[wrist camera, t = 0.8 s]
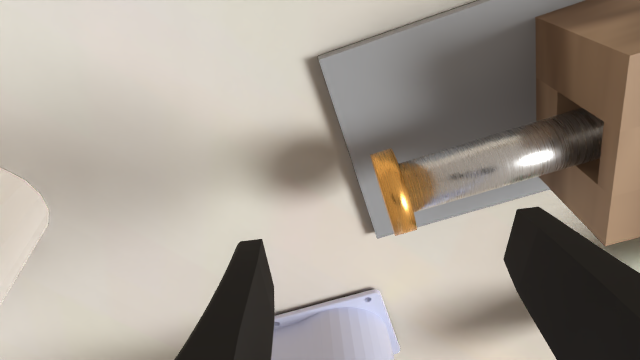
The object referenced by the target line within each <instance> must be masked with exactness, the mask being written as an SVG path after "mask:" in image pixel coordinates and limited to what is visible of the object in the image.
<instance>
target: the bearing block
mask: <svg viewBox="0 0 640 360" xmlns="http://www.w3.org/2000/svg"><path fill="white" fill-rule="evenodd" d="M535 28H536V121H539V120H543V119H546V118H549V117H552V116H556V115H559V114H562V113H565V112H569V111H572V110H575V109H579V108H584V109H585V110H587V111H588V112H590V113H591V114H593V115H594V116H596V117H597V118H599V119H600V120H602V121H603V122H604V126H603V136H602V146H601V156H600V159H596V160H593V161H590V162H586V163H583V164H579V165H576V166H572V167H569V168H565V169H562V170H558V171H555V172H552V173H548V174H545V175H541V176H538V177H539V178H540V179H541V180H542V181H543V182H544V183H545V184H546V185H547V186H548V187H549V188H550V189H551V190H552V191H553V192H554V193H555V194H556V195H557V197H558V198H559V199H560V200H561V201H562V202H563V203H564V204H565V205H566V206H567V207H568V208H569V209H570V210H571V211H572V212H573V213H574V214H575V215H576V216H577V217H578V218H579V219H580V220H581V222H582V223H583V224H584V225H585V226H586V227H587V228H588V229H589V230H590V231H591V232H592V233H593V234H594V235H595V236H596V237H597V238H598V239H599V240H600V241H601V242H602V243H603V244H604V245H605V246H608V245H612V244H616V243H619V242H623V241H627V240H631V239H635V238H638V237H640V0H585V1H582V2H579V3H576V4H573V5H570V6H567V7H564V8H561V9H558V10H555V11H552V12H549V13H546V14H543V15H540V16H537V17H535Z"/></svg>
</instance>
